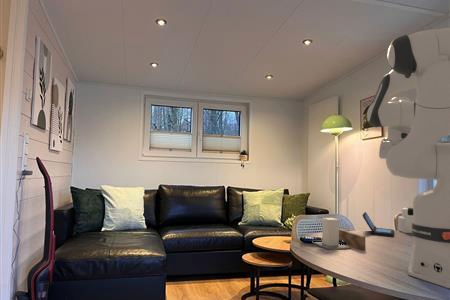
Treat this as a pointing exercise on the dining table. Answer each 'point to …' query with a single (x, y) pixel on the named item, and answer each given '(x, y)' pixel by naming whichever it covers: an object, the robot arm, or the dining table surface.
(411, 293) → the dining table surface
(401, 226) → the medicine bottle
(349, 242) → the door edge
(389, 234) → the handheld game console
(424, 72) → the robot arm
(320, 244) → the grey flat board
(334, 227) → the block
